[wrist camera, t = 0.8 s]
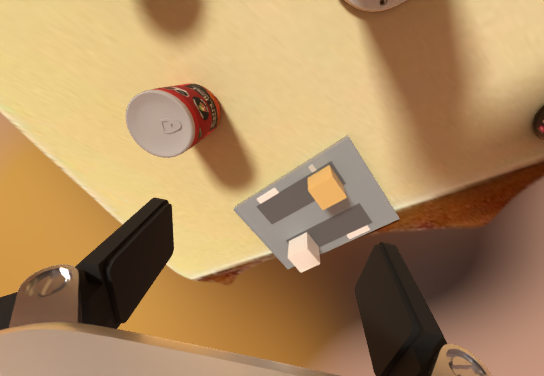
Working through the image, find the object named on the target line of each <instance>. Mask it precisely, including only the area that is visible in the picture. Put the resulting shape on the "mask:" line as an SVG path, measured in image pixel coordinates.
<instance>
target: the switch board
mask: <svg viewBox="0 0 544 376" xmlns="http://www.w3.org/2000/svg"><path fill="white" fill-rule="evenodd" d="M328 165H330V166H331V168H332V169H333V171H334V172H335V174H336V175H337V177H338V178H339V180H340V181H341V183H342V184H343V187H344V190H345V193H346V196H347V198H345V199H344V200H342V201H340V202H338V203H336V204H334V205H332V206H330V207H328V208H326V209H325V210H322V209H321V207H320V206H319V205H318V203H317V202H316V201H315V199H314V198H313V197H312V195H311V194H310V193H309V191H308V177H310V176H311V175H313V174H315V173H316V172H318V171H320V170H321V169H323V168H325V167H326V166H328ZM234 211H235V212H236V213H237V214H238V215H239V216H240V217H241V219H242V220H243V221H244V222H245V223H246V224H247V225H248V226H249V227H250V228H251V230H252V231H253V232H254V233H255V234H256V235H257V236H258V237H259V238H260V239H261V240H262V242H263V243H264V244H265V245H266V246H267V247H268V248H269V249H270V250H271V251H272V252H273V254H274V255H275V256H276V257H277V258H278V259H279V260H280V261H281V262H282V263H283V264H284V266H285V267H286V268H287V269H290V268H292V267H294V265H293V263H292V262H291V261H290V260H289V259H288V246H289V241H290V240H292V239H294V238H296V237H298V236H300V235H302V234H304V233H306V232H307V233H308V234H309V235H310V236H311V238H312V239H313V240H314V241H315V243H316V244H317V245H318V246H319V254H320V255H321V254H323V253H325V252H327V251H330V250H332V249H334V248H336V247H338V246H341V245H343V244H345V243H347V242H349V241H352V240H354V239H356V238H358V237H360V236H363V235H365V234H367V233H369V232H372V231H374V230H376V229H378V228H380V227H383V226H385V225H387V224H389V223H391V222H394V221H396V220H398V219H399V217H398V215H397V214H396V212H395V211H394V209H393V207H392V206H391V204H390V202H389V201H388V199H387V198H386V196H385V194H384V193H383V191H382V190H381V188H380V186H379V185H378V183H377V182H376V180H375V178H374V177H373V175H372V173H371V172H370V170H369V169H368V167H367V165H366V164H365V162H364V161H363V159H362V157H361V156H360V154H359V152H358V151H357V149H356V148H355V146H354V144H353V143H352V141H351V140H350V138H349V136H348V135H347V136H346V137H344V138H343V139H341V140H339V141H338V142H336V143H335V144H333V145H332V146H330V147H328V148H327V149H325V150H324V151H322V152H320V153H319V154H317V155H316V156H314V157H313V158H311V159H309V160H308V161H306V162H305V163H303V164H301V165H300V166H298V167H297V168H295V169H294V170H292V171H290V172H289V173H287V174H286V175H284V176H282V177H281V178H279V179H278V180H276V181H275V182H273V183H271V184H270V185H268V186H267V187H265V188H263V189H262V190H260V191H259V192H257V193H256V194H254V195H252V196H251V197H249V198H248V199H246V200H244V201H243V202H241V203H240V204H238V205H237V206H235V208H234Z"/></svg>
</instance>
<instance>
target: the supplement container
mask: <svg viewBox="0 0 544 376" xmlns="http://www.w3.org/2000/svg"><path fill="white" fill-rule="evenodd" d="M533 130H534V132H535V134H536V135H537V136H538V138H540V139H542V140H544V105H543V106H542V107H541V108H540V110H539V111H538V112H537V114H536V116H535V118H534V121H533Z"/></svg>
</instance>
